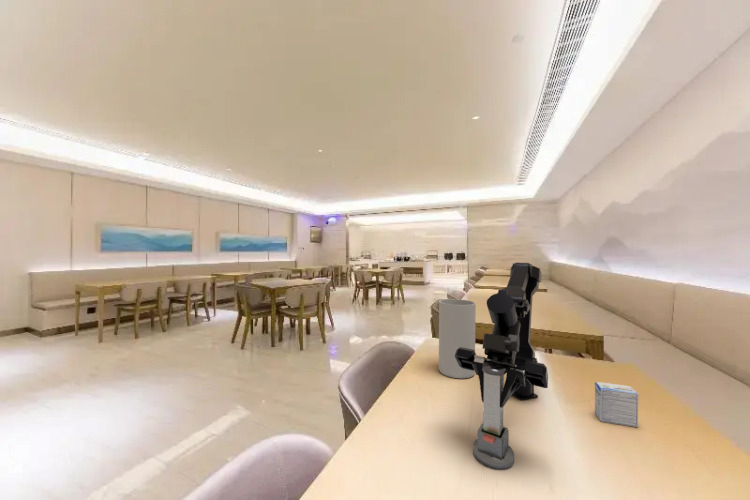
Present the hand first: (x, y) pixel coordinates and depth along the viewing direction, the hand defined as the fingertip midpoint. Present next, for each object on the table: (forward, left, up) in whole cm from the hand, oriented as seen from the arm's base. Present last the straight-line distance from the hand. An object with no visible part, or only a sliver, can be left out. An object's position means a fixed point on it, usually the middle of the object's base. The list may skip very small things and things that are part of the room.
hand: (491, 404), depth 62 cm
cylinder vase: (-18, -42, -12) cm, 47 cm away
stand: (-1, -1, -11) cm, 12 cm away
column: (-1, -1, -6) cm, 6 cm away
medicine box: (-41, -4, -12) cm, 42 cm away
